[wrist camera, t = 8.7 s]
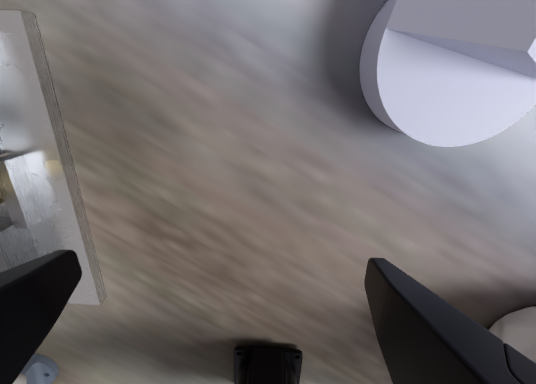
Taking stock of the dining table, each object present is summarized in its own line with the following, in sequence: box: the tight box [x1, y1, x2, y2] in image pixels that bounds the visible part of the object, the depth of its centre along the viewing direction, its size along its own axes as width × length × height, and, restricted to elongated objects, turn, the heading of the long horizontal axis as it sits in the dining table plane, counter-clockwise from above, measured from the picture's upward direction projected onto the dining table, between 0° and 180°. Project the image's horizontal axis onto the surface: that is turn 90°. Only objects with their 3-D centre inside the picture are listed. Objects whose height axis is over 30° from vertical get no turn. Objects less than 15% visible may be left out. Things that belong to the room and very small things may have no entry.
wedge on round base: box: [359, 0, 536, 147], centre depth 13 cm, size 9×7×13 cm
